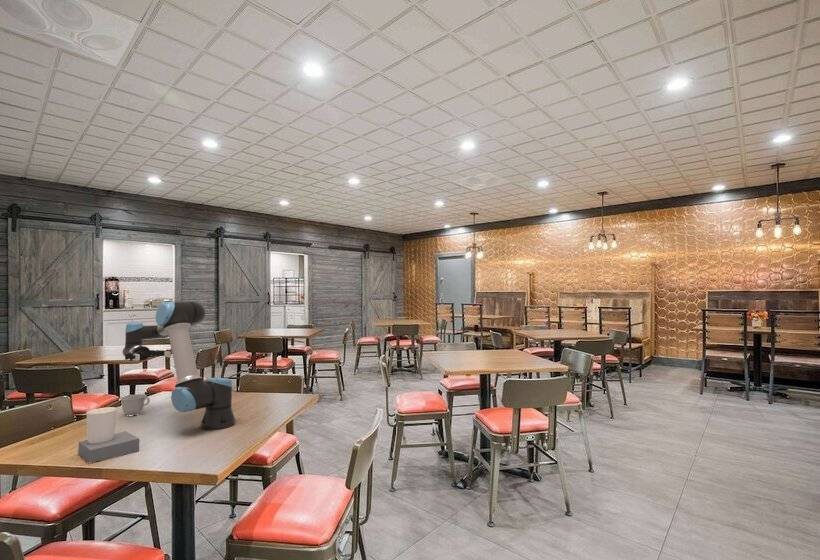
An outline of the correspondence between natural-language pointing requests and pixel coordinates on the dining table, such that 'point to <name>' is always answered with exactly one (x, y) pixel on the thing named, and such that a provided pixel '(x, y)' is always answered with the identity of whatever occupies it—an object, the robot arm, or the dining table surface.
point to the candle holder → (101, 425)
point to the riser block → (109, 447)
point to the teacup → (134, 403)
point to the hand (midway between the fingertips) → (155, 356)
